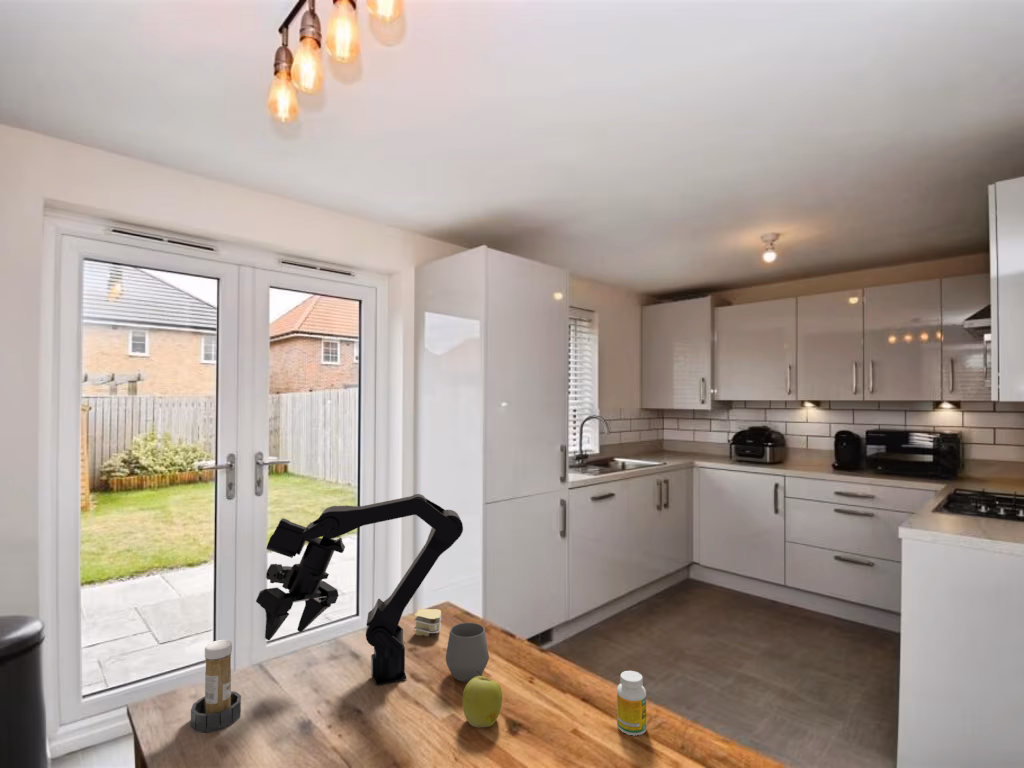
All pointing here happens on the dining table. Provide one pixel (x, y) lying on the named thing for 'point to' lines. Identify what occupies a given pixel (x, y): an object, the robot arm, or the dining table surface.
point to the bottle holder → (215, 715)
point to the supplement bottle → (631, 704)
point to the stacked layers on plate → (428, 621)
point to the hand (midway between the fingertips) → (283, 635)
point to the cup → (467, 651)
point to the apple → (482, 701)
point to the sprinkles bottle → (218, 676)
